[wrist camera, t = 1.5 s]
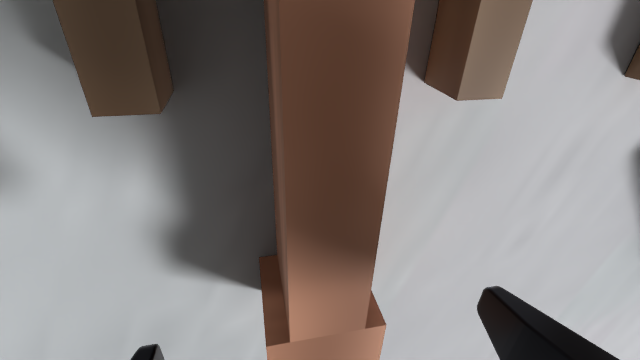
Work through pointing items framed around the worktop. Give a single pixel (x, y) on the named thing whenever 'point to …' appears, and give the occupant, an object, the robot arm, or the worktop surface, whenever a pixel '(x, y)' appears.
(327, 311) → the block
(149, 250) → the worktop surface
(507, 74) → the lane rack
